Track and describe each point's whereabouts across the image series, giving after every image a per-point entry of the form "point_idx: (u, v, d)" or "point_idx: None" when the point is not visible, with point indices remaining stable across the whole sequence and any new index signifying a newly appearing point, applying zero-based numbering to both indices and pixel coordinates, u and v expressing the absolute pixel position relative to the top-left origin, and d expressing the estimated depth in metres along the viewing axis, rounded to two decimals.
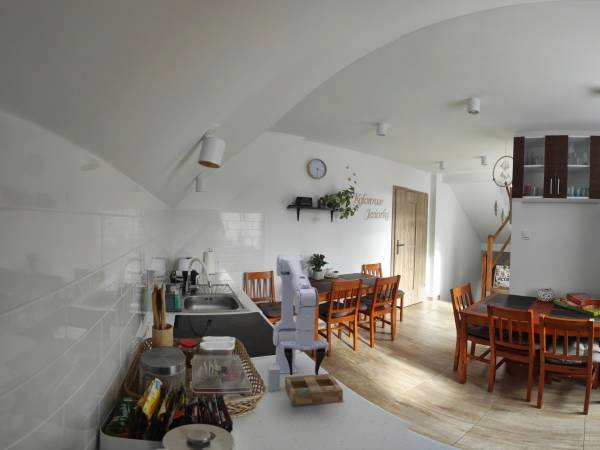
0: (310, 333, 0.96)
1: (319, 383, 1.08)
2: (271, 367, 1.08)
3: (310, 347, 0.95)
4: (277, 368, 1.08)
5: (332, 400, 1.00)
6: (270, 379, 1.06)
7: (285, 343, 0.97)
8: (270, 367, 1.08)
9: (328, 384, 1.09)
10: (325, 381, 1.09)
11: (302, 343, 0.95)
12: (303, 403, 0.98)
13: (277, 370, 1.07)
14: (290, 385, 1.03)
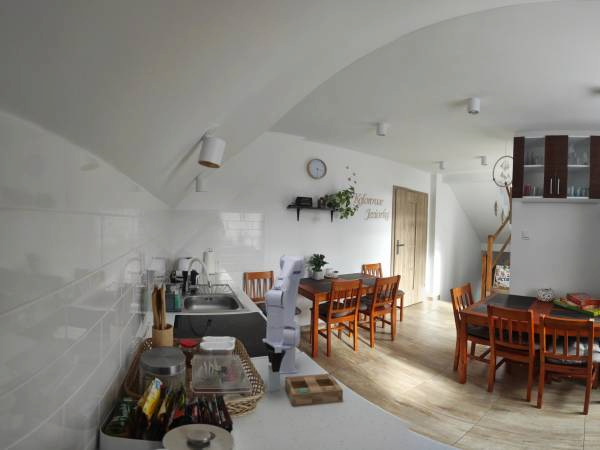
0: (268, 329, 1.07)
1: (319, 383, 1.08)
2: (271, 367, 1.08)
3: (267, 342, 1.06)
4: None
5: (332, 400, 1.00)
6: (270, 379, 1.06)
7: None
8: (270, 367, 1.08)
9: (328, 384, 1.09)
10: (325, 381, 1.09)
11: None
12: (303, 403, 0.98)
13: None
14: (290, 385, 1.03)
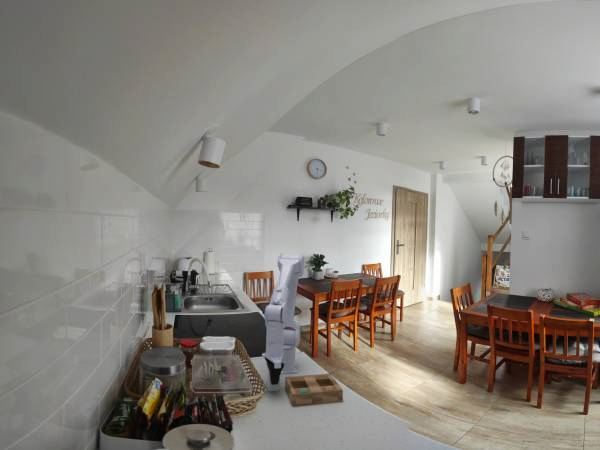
0: (267, 344, 1.07)
1: (319, 383, 1.08)
2: None
3: (266, 356, 1.06)
4: None
5: (332, 400, 1.00)
6: None
7: None
8: None
9: (328, 384, 1.09)
10: (325, 381, 1.09)
11: None
12: (303, 403, 0.98)
13: None
14: (290, 385, 1.03)
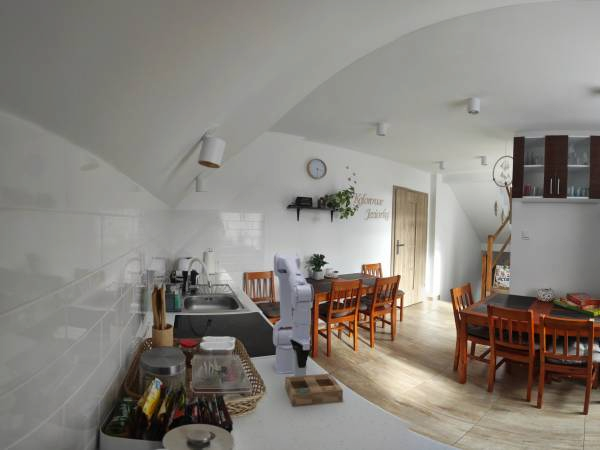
0: (294, 326, 1.03)
1: (319, 383, 1.08)
2: None
3: (293, 339, 1.02)
4: None
5: (332, 400, 1.00)
6: (296, 363, 1.02)
7: None
8: None
9: (328, 384, 1.09)
10: (325, 381, 1.09)
11: (292, 333, 1.05)
12: (303, 403, 0.98)
13: None
14: (290, 385, 1.03)
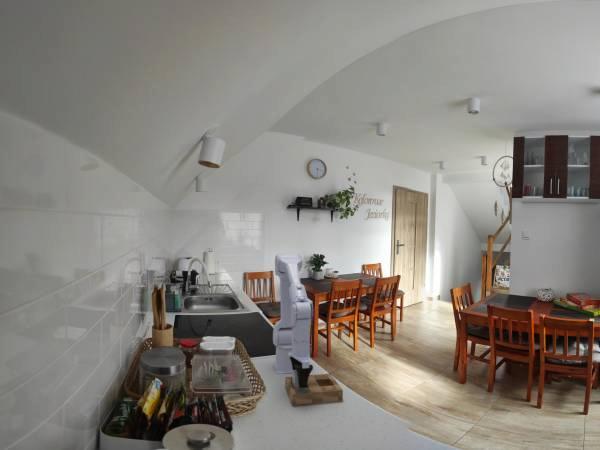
0: (294, 343, 1.03)
1: (319, 383, 1.08)
2: None
3: (293, 356, 1.02)
4: None
5: (332, 400, 1.00)
6: (296, 384, 1.02)
7: None
8: (295, 371, 1.04)
9: (328, 384, 1.09)
10: (325, 381, 1.09)
11: None
12: (303, 403, 0.98)
13: None
14: (290, 385, 1.03)
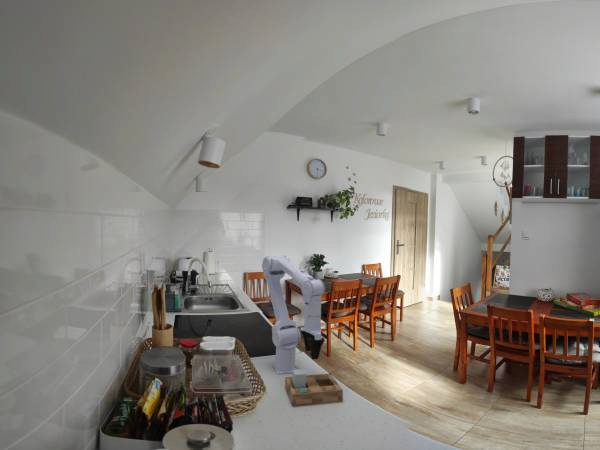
0: (306, 318, 1.10)
1: (319, 383, 1.08)
2: (297, 372, 1.04)
3: (305, 330, 1.10)
4: (303, 373, 1.04)
5: (332, 400, 1.00)
6: (296, 384, 1.02)
7: None
8: (295, 371, 1.04)
9: (328, 384, 1.09)
10: (325, 381, 1.09)
11: (304, 325, 1.12)
12: (303, 403, 0.98)
13: (303, 375, 1.03)
14: (290, 385, 1.03)
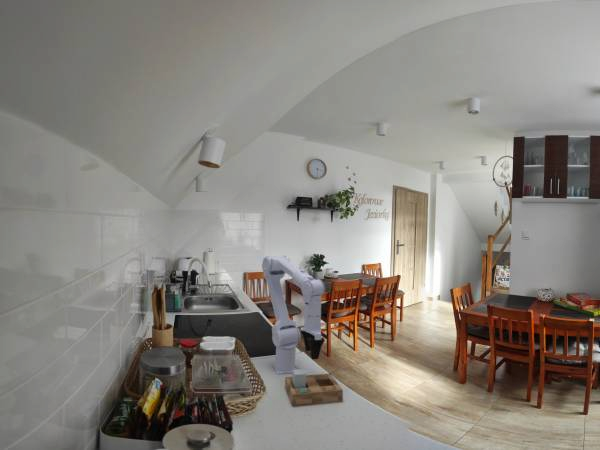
0: (306, 318, 1.10)
1: (319, 383, 1.08)
2: (297, 372, 1.04)
3: (305, 330, 1.10)
4: (303, 373, 1.04)
5: (332, 400, 1.00)
6: (296, 384, 1.02)
7: None
8: (295, 371, 1.04)
9: (328, 384, 1.09)
10: (325, 381, 1.09)
11: (304, 325, 1.12)
12: (303, 403, 0.98)
13: (303, 375, 1.03)
14: (290, 385, 1.03)
